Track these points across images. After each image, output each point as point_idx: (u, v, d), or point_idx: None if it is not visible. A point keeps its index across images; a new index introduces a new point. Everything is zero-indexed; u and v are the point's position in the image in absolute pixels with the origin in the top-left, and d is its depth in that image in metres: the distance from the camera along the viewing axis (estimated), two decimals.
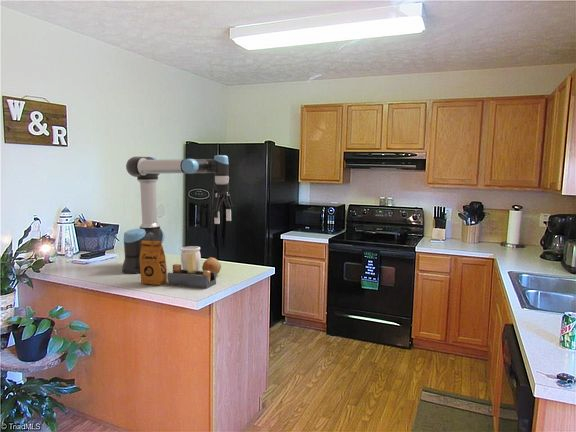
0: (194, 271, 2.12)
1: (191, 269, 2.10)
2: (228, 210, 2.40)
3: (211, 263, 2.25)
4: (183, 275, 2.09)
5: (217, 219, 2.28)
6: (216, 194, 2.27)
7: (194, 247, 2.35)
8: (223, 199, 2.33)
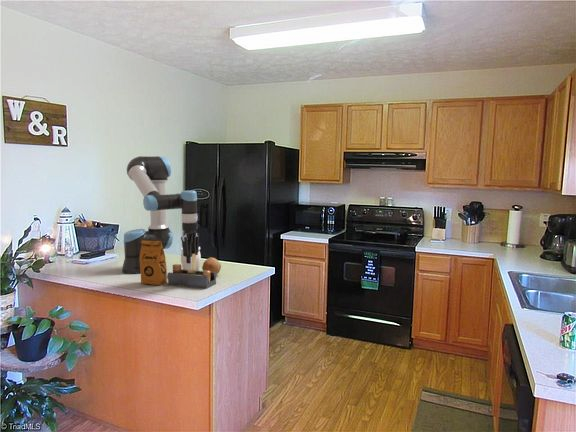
0: (194, 271, 2.12)
1: None
2: None
3: (211, 263, 2.25)
4: (183, 275, 2.09)
5: (190, 265, 2.10)
6: (183, 239, 2.04)
7: None
8: (191, 239, 2.09)
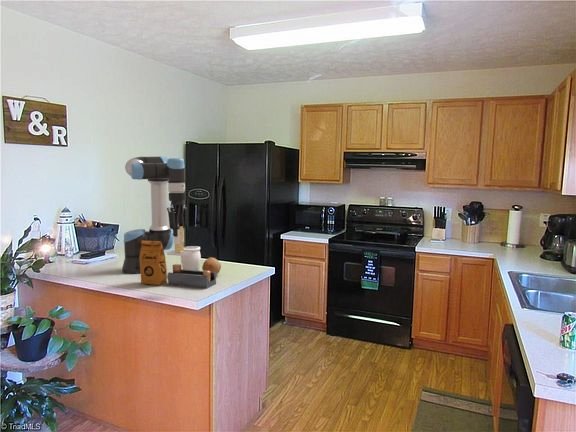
0: (181, 245, 1.97)
1: None
2: None
3: (211, 263, 2.25)
4: (183, 275, 2.09)
5: (177, 238, 1.95)
6: (169, 209, 1.90)
7: (194, 247, 2.35)
8: None
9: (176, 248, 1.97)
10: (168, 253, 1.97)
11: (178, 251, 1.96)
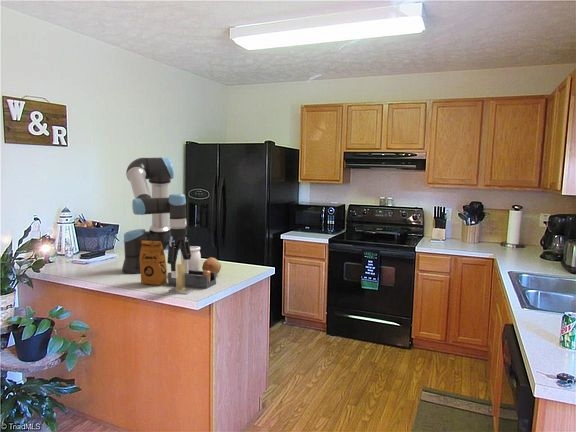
0: (183, 283, 1.99)
1: (179, 281, 1.98)
2: (185, 261, 2.02)
3: (211, 263, 2.25)
4: None
5: (174, 273, 1.94)
6: (170, 243, 1.91)
7: (194, 247, 2.35)
8: (180, 246, 1.96)
9: (177, 286, 1.99)
10: (170, 291, 1.99)
11: (179, 289, 1.98)
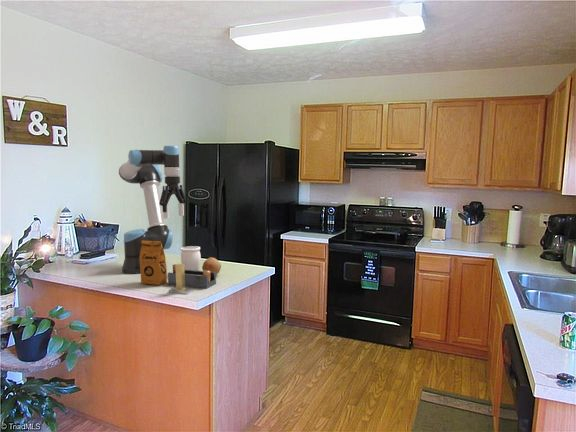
0: (183, 283, 1.99)
1: (179, 281, 1.98)
2: (180, 204, 2.26)
3: (211, 263, 2.25)
4: None
5: (166, 214, 2.13)
6: (164, 187, 2.12)
7: (194, 247, 2.35)
8: (173, 192, 2.18)
9: (177, 286, 1.99)
10: (170, 291, 1.99)
11: (179, 289, 1.98)
